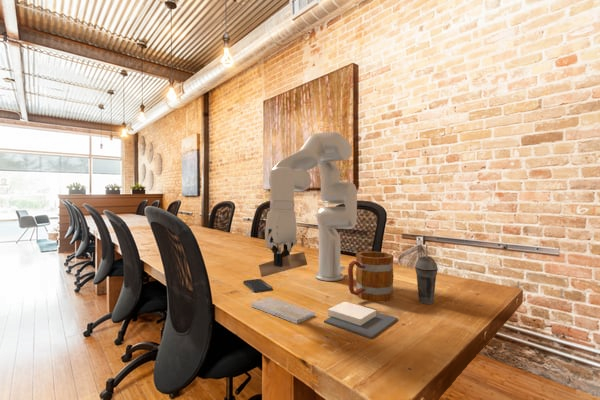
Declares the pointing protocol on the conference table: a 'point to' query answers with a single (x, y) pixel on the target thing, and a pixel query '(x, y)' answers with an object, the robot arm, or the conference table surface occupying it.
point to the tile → (352, 313)
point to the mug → (372, 276)
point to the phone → (257, 285)
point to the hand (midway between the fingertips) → (281, 264)
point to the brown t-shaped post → (283, 264)
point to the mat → (365, 325)
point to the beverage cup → (426, 278)
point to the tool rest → (283, 310)
